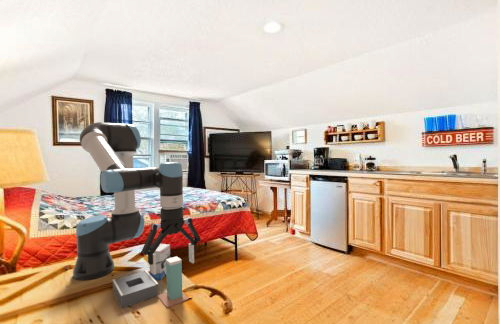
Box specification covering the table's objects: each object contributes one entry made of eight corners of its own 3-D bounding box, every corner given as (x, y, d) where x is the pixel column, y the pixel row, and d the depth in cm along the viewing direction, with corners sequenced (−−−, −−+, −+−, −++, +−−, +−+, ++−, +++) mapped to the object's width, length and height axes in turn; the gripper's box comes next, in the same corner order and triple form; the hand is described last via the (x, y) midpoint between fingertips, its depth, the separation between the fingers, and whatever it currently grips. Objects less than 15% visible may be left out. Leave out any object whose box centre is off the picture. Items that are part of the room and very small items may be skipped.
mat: (157, 296, 91) (157, 295, 91) (181, 287, 97) (181, 286, 97) (166, 308, 84) (166, 306, 84) (192, 298, 90) (192, 296, 90)
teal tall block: (167, 295, 91) (165, 259, 90) (178, 291, 93) (176, 256, 93) (171, 300, 88) (170, 262, 87) (182, 296, 90) (181, 259, 90)
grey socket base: (112, 291, 96) (112, 279, 95) (146, 280, 103) (146, 269, 103) (121, 308, 85) (121, 295, 84) (158, 295, 92) (158, 283, 92)
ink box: (160, 280, 103) (159, 251, 102) (149, 279, 104) (148, 250, 103) (171, 270, 111) (170, 243, 111) (160, 270, 112) (159, 243, 112)
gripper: (136, 214, 79) (139, 283, 80) (209, 203, 94) (210, 261, 95) (130, 210, 85) (132, 274, 86) (199, 200, 100) (200, 254, 101)
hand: (173, 267), depth 90 cm, fingers open, 13 cm apart
